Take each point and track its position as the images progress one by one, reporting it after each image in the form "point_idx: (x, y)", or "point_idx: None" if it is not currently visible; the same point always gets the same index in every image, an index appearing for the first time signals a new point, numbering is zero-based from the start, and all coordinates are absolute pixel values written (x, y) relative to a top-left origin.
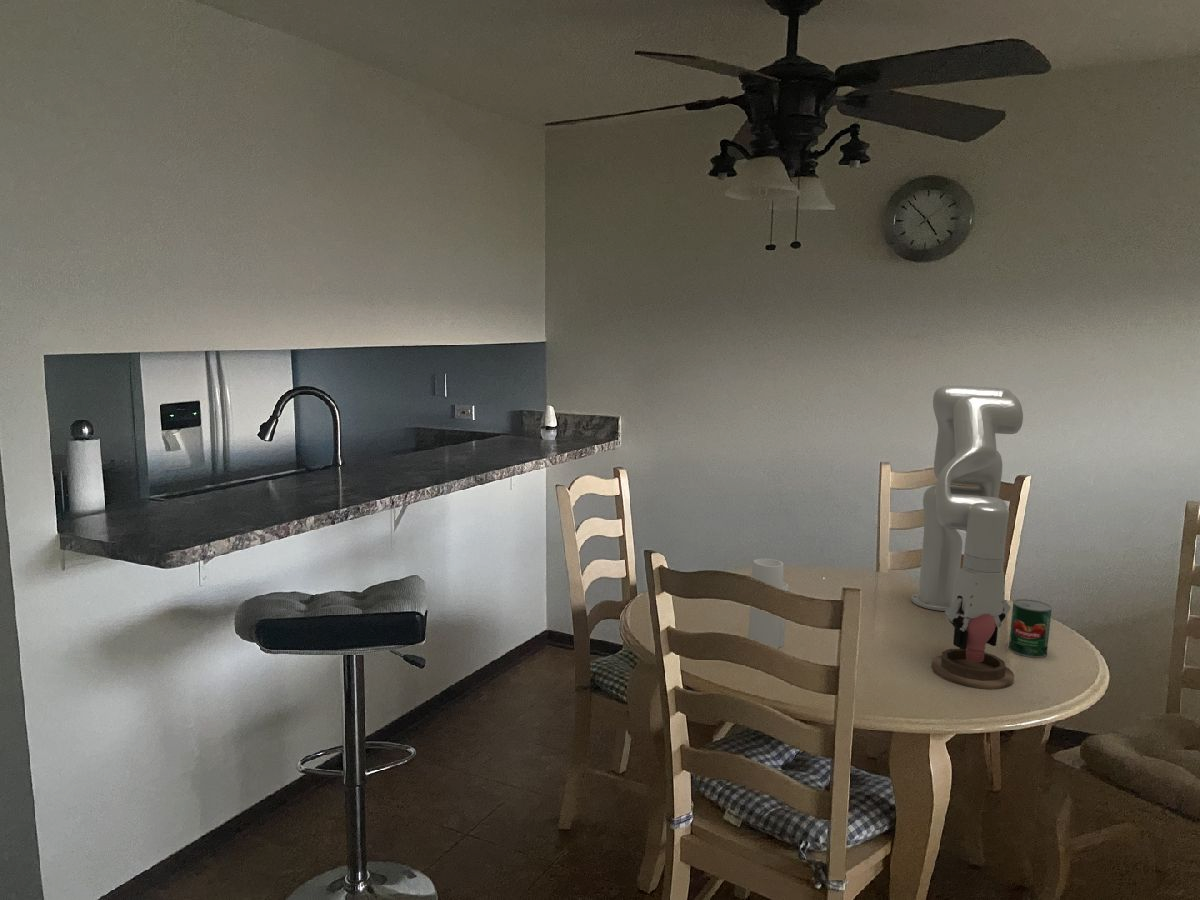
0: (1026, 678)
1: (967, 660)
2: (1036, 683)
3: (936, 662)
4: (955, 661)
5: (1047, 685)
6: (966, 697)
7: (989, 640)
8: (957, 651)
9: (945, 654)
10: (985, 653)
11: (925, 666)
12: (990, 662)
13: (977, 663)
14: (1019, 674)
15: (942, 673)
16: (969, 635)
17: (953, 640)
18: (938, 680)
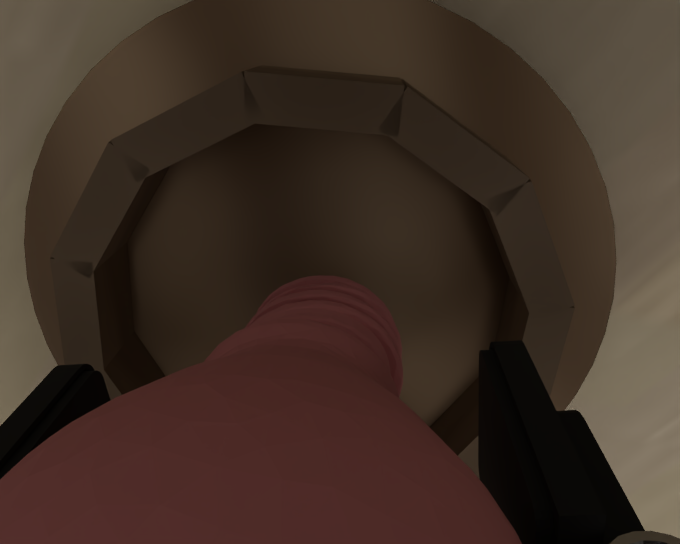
0: (631, 419)
1: (389, 154)
2: (623, 483)
3: (85, 149)
4: (267, 156)
5: (662, 513)
6: None
7: (485, 459)
8: (301, 124)
9: (112, 203)
10: (527, 248)
11: (23, 112)
12: (513, 284)
13: (429, 227)
14: (646, 363)
15: (44, 330)
16: None
17: (37, 386)
18: (18, 343)
